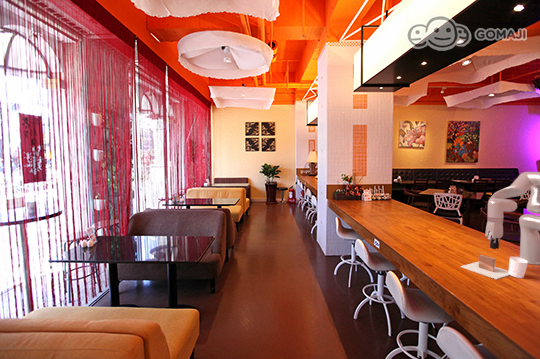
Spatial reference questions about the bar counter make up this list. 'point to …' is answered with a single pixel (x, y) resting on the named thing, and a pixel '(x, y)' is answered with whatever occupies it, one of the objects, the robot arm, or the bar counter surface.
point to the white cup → (517, 267)
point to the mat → (496, 275)
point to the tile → (487, 263)
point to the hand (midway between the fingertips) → (494, 248)
